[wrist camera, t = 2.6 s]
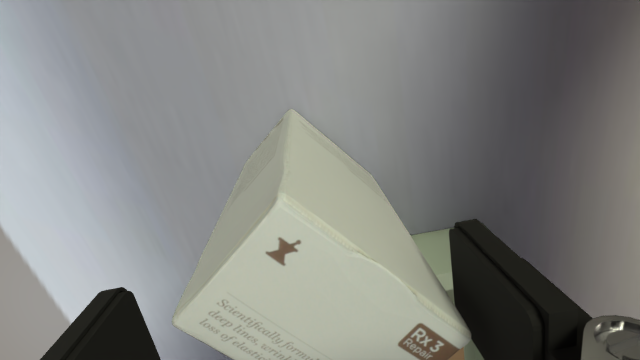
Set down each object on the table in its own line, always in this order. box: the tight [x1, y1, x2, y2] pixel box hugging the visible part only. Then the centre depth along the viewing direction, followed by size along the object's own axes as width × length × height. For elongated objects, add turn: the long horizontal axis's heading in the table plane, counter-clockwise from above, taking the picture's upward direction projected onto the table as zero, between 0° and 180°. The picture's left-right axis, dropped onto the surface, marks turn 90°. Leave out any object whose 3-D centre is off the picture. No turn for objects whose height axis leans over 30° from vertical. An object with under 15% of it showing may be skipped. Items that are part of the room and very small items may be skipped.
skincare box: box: [172, 109, 471, 360], centre depth 14 cm, size 6×4×12 cm
